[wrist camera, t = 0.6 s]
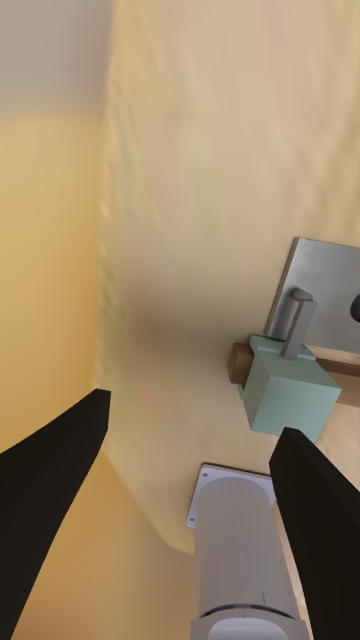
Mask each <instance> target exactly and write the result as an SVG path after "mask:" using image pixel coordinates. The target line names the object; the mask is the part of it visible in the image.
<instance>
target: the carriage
mask: <svg viewBox="0 0 360 640" xmlns="http://www.w3.org/2000/svg"><path fill="white" fill-rule="evenodd" d="M292 296H293V299H294V300H296V301H297V302H299V304H298V307H297V310H296V312H295V315H294V318H293V321H292V323H291V326H290V329H289V332H288V335H287V337H286V340H285V341H282V340H277V339H271V338H266V337H261V336H255V335H251V338H250V342H249V344H250V346H251V348H252V350H253V352H254V354H255V357H254V360H253V363H252V366H251V369H250V373H249V376H248V379H247V382H246V385H239V384H237V386H238V389H239V393H240V397H241V399H242V400H243V403H244V406H245V410H246V414H247V417H248V421H249V425H250V428H251V430H252V431H257V432H263V433H268V434H273V435H278V436H280V435H281V433H282V431H283V429H284V427H289V428H294V429H299V430H300V431H301V432H302V433H303V434H304V435H305V436H306V437H307V438H308V439H309V440H310V441H311V442H314V443H316V441H317V439H318V437H319V435H320V433H321V431H322V429H323V427H324V425H325V423H326V421H327V419H328V417H329V415H330V413H331V411H332V409H333V407H334V405H335V403H336V401H337V399H338V396H339V394H340V392H341V390H342V388H341V387H340V386H339V385H338V384H337V383H336V382H335V381H334V380H333V379H332V378H331V377H330V376H329V375H328V374H327V373H326V372H325V371H324V370H323V369H322V367H321V366H320V365H319V364H318V363H317V362H316V361H315V358H316V357H315V356H314V355H313V354H312V353H311V352H310V351H309V350H308V349H307V348H306V347H305V346H304V345H303V344H302V343H303V340H304V338H305V335H306V333H307V330H308V328H309V325H310V322H311V320H312V317H313V315H314V312H315V310H316V307H317V305H318V303H317V302H315V301H313V296H312V294H310V293H308V292H306V291H304V290H302V289H297V290H295V291H294V292H293V295H292Z"/></svg>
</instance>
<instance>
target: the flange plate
mask: <svg viewBox="0 0 360 640" xmlns="http://www.w3.org/2000/svg"><path fill="white" fill-rule="evenodd" d="M297 289H302V290H304V291H306V292H308V293H310V294H312V296H313V301H315V302H317V303H318V305H317V307H316V310H315V312H314V315H313V317H312V320H311V322H310V325H309V328H308V330H307V333H306V335H305V338H304V340H303V344H308V345H314V346H319V347H325V348H330V349H335V350H341V351H346V352H352V353H357V354H360V249H359V248H354V247H348V246H342V245H337V244H331V243H325V242H319V241H314V240H308V239H302V238H295V239H294V242H293V245H292V248H291V251H290V254H289V257H288V260H287V264H286V267H285V270H284V273H283V276H282V279H281V282H280V285H279V289H278V292H277V295H276V298H275V301H274V304H273V307H272V310H271V314H270V317H269V320H268V323H267V326H266V329H265V332H264V333H265V334H266V336H267V337H270V338H276V339H281V340H286V337H287V335H288V332H289V329H290V326H291V323H292V321H293V318H294V315H295V312H296V310H297V307H298V304H299V302H297V301H296V300H294V299H293V296H292V295H293V292H294V291H295V290H297Z"/></svg>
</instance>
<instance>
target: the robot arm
mask: <svg viewBox="0 0 360 640" xmlns="http://www.w3.org/2000/svg"><path fill="white" fill-rule="evenodd" d="M110 398H111V391H107V390H102V389H95V390H93V391H92V392H91V393H89V394H88V395H87V396H86V397H84V398H83V399H81V400H80V401H79V402H78V403H76V404H75V405H73V406H72V407H71V408H69V409H68V410H67V411H65V412H64V413H62V414H61V415H60V416H58V417H57V418H55V419H54V420H53V421H51V422H50V423H48V424H47V425H45V426H44V427H42V428H41V429H39V430H38V431H36V432H35V433H33V434H32V435H30V436H29V437H27V438H25V439H24V440H22V441H21V442H19V443H17V444H16V445H14V446H12V447H11V448H9V449H8V450H6V451H4V452H2V453H1V454H0V640H10V639H11V637H12V634H13V632H14V630H15V627H16V625H17V622H18V620H19V618H20V615H21V613H22V611H23V608H24V606H25V604H26V601H27V599H28V597H29V594H30V592H31V590H32V587H33V585H34V582H35V580H36V578H37V576H38V573H39V571H40V569H41V566H42V564H43V562H44V560H45V558H46V555H47V553H48V551H49V549H50V546H51V544H52V542H53V539H54V537H55V535H56V533H57V531H58V529H59V527H60V525H61V523H62V521H63V518H64V517H65V515H66V513H67V511H68V509H69V507H70V506H71V504H72V502H73V500H74V498H75V496H76V494H77V492H78V491H79V489H80V486H81V485H82V483H83V481H84V479H85V477H86V476H87V474H88V472H89V470H90V468H91V466H92V464H93V462H94V460H95V458H96V457H97V455H98V452H99V450H100V447H101V445H102V443H103V440H104V437H105V435H106V432H107V430H108V420H109V409H110ZM269 467H270V473H271V477H268V476H263V475H258V474H253V473H248V472H243V471H238V470H233V469H228V468H223V467H218V466H212V465H207V464H205V465H202V467H201V469H200V473H199V477H198V480H197V484H196V487H195V491H194V495H193V498H192V502H191V506H190V509H189V513H188V516H187V520H186V525H187V527H189V528H194V529H195V552H194V609H195V615H196V619H191V621H190V640H310V636H309V633H308V629H307V626H306V622H305V621H304V620H301V617H300V613H299V610H298V606H297V602H296V598H295V595H294V591H293V587H292V584H291V580H290V576H289V572H288V569H287V565H286V561H285V557H284V554H283V550H282V546H281V542H280V539H279V535H278V531H277V527H276V524H275V520H274V516H273V512H272V507H273V505H274V503H275V500H277V504H278V507H279V510H280V514H281V517H282V520H283V524H284V527H285V530H286V534H287V537H288V540H289V543H290V547H291V550H292V553H293V557H294V560H295V563H296V567H297V570H298V574H299V577H300V581H301V585H302V589H303V593H304V597H305V602H306V606H307V610H308V615H309V619H310V624H311V628H312V633H313V637H314V640H360V492H359V491H358V490H357V489H356V488H355V487H354V486H353V485H352V484H351V483H350V482H349V481H348V480H347V479H346V478H345V477H344V476H343V474H342V473H341V472H340V471H339V470H338V469H337V468H336V467H335V466H334V465H333V464H332V463H331V462H330V461H329V460H328V459H327V458H326V457H325V455H324V454H323V453H322V452H321V451H320V450H319V449H318V448H317V447H316V446H315V445H314V444H313V443H312V442H311V441H310V440H309V439H308V438H307V437H306V436H305V435H304V434H303V433H302V432H301V431H300V430H299V429H294V428H289V427H284V429H283V431H282V433H281V435H280V438H279V440H278V442H277V445H276V447H275V449H274V452H273V454H272V456H271V459H270V461H269Z"/></svg>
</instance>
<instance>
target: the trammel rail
mask: <svg viewBox="0 0 360 640" xmlns="http://www.w3.org/2000/svg"><path fill="white" fill-rule="evenodd" d="M254 357H255V354H254V352H253V350H252V348H251V346H248V345H243V344H238V343H235V344H234V347H233V351H232V355H231V358H230V362H229V366H228V372H229V377H230V382H231V383H234V384H239V385H246V382H247V379H248V376H249V373H250V369H251V366H252V363H253V360H254ZM315 361H316V362H317V363H318V364H319V365H320V366H321V367H322V369H323V370H324V371H325V372H326V373H327V374H328V375H329V376H330V377H331V378H332V379H333V380H334V381H335V382H336V383H337V384H338V385H339V386H340V387H341V388H342V390H341V392H340V394H339V396H338V399H337V401H336V403H340V404H345V405H350V406H355V407H360V366H356V365H351V364H345V363H340V362H334V361H329V360H324V359H318V358H315Z"/></svg>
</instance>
